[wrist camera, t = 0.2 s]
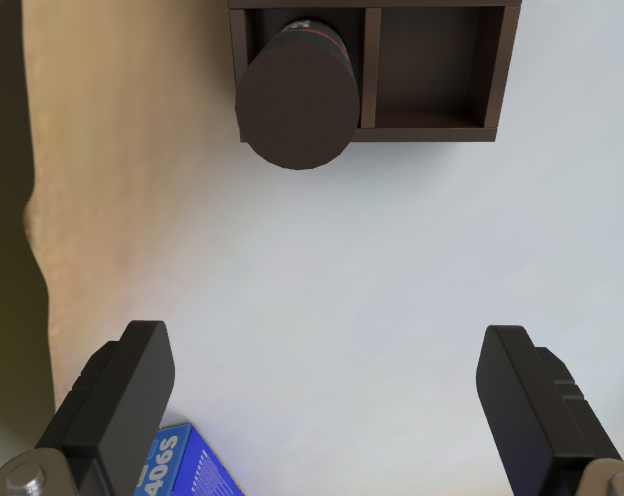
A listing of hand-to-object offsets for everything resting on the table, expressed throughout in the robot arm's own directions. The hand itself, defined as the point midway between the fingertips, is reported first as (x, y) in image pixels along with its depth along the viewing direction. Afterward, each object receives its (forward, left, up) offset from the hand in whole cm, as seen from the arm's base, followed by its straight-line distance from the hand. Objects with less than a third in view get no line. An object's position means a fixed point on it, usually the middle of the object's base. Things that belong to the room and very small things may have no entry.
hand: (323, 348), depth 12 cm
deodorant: (-3, -1, -29) cm, 29 cm away
